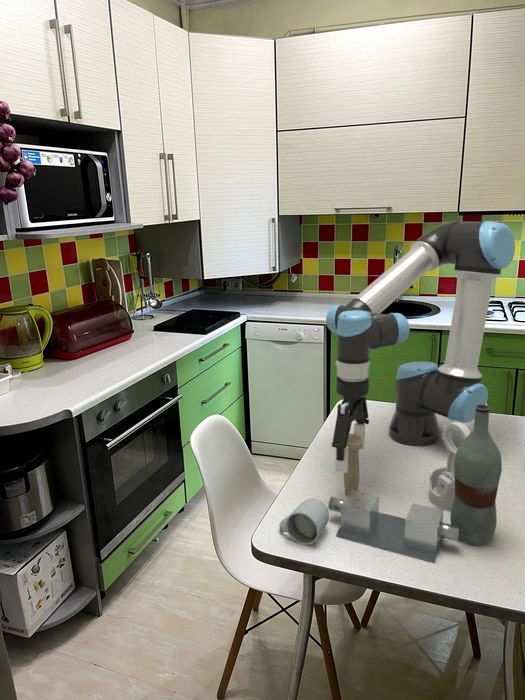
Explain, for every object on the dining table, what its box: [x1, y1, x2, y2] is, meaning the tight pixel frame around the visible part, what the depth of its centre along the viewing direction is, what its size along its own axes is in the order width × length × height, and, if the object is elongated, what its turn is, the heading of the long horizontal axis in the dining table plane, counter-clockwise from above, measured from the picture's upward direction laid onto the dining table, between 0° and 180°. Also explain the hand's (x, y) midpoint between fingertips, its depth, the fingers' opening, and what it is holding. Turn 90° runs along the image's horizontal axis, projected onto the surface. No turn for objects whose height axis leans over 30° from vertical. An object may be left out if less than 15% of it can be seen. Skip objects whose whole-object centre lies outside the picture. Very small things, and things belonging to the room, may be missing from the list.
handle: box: [343, 433, 363, 496], centre depth 131 cm, size 5×6×15 cm
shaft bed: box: [328, 489, 460, 564], centre depth 116 cm, size 12×28×7 cm, turn 63°
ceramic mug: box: [278, 498, 330, 546], centre depth 117 cm, size 11×8×8 cm
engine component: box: [428, 421, 472, 512], centre depth 126 cm, size 11×20×10 cm
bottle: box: [449, 404, 503, 547], centre depth 111 cm, size 9×9×30 cm
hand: (350, 459), depth 130 cm, fingers open, 13 cm apart
